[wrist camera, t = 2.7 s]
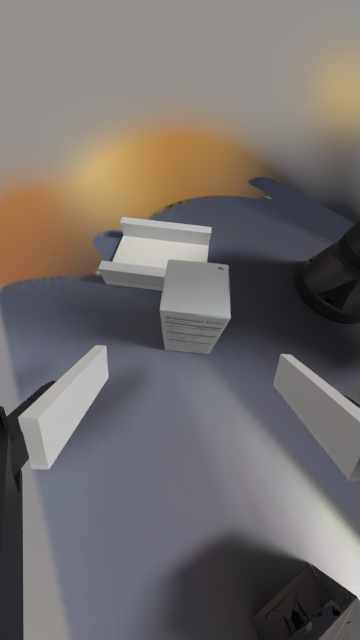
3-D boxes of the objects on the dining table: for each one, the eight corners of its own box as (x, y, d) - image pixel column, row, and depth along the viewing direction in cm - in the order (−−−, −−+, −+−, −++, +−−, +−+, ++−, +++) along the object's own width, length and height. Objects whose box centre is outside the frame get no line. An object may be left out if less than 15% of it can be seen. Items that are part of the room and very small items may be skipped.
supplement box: (169, 311, 32) (167, 256, 21) (210, 316, 32) (231, 263, 21) (163, 351, 28) (157, 309, 17) (209, 356, 28) (233, 318, 17)
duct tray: (208, 243, 41) (211, 227, 37) (203, 296, 34) (207, 282, 30) (126, 233, 41) (122, 217, 38) (105, 283, 34) (98, 268, 31)
